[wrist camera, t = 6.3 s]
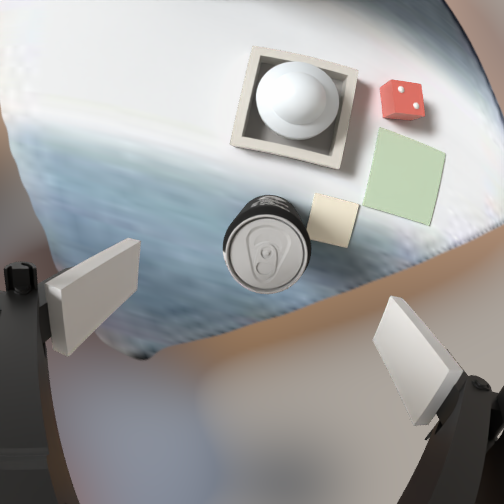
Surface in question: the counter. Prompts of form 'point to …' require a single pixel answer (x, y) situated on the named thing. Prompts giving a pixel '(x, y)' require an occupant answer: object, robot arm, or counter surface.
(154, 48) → the counter surface
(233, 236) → the beverage can
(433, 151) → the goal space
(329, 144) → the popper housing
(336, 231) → the track space
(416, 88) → the red die
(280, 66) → the dome
